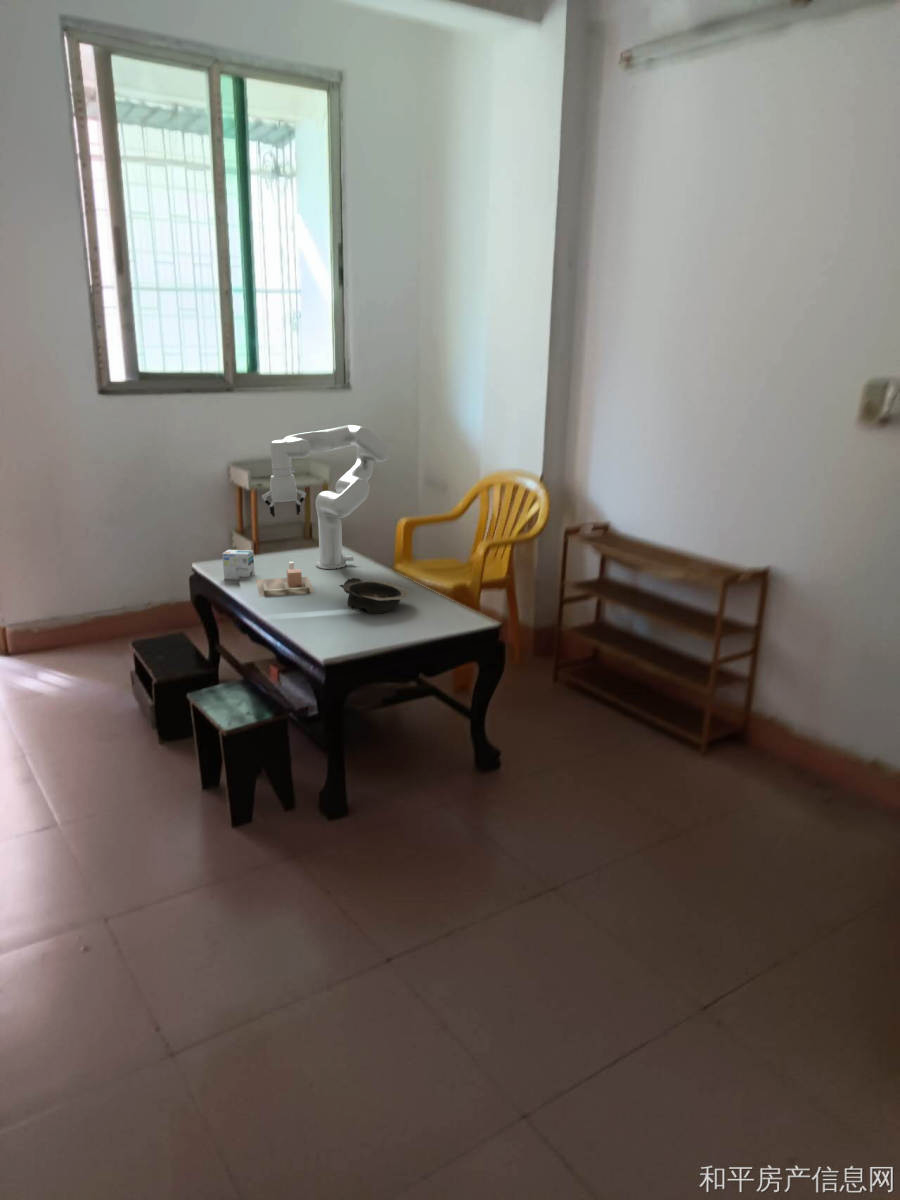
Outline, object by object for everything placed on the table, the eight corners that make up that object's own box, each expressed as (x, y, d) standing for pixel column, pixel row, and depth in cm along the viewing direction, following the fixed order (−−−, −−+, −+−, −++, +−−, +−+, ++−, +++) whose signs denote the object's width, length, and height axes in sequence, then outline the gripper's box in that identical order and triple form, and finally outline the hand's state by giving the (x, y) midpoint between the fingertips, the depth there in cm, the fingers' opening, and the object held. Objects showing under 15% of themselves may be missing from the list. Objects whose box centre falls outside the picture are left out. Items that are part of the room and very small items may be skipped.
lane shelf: (307, 580, 327) (307, 571, 326) (314, 596, 307) (314, 587, 306) (256, 583, 322) (255, 574, 321) (259, 600, 302) (259, 591, 301)
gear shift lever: (298, 576, 328) (297, 561, 326) (301, 584, 316) (301, 569, 314) (285, 576, 326) (284, 562, 324) (288, 585, 315) (288, 570, 313)
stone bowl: (325, 608, 294) (326, 582, 292) (373, 597, 314) (373, 573, 311) (377, 622, 280) (378, 595, 278) (423, 609, 299) (424, 584, 297)
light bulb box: (255, 575, 333) (253, 549, 329) (249, 580, 326) (248, 554, 323) (229, 574, 333) (227, 548, 330) (223, 579, 327) (221, 553, 324)
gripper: (302, 469, 329) (305, 511, 334) (258, 472, 323) (262, 514, 329) (306, 472, 322) (308, 515, 327) (261, 475, 317) (264, 519, 322)
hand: (285, 515), depth 328 cm, fingers open, 9 cm apart
